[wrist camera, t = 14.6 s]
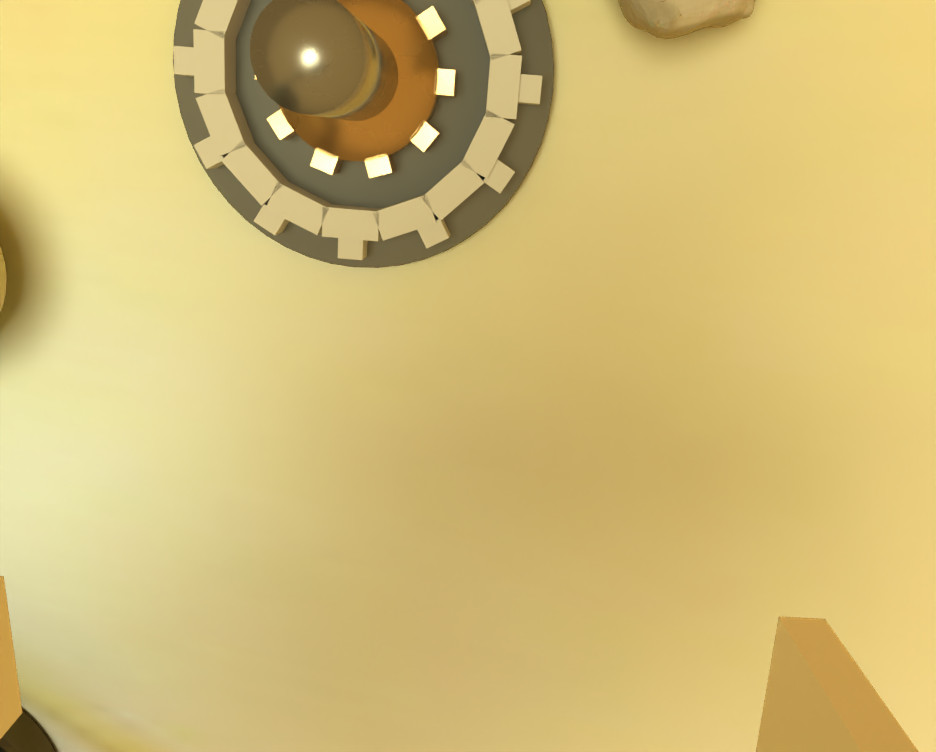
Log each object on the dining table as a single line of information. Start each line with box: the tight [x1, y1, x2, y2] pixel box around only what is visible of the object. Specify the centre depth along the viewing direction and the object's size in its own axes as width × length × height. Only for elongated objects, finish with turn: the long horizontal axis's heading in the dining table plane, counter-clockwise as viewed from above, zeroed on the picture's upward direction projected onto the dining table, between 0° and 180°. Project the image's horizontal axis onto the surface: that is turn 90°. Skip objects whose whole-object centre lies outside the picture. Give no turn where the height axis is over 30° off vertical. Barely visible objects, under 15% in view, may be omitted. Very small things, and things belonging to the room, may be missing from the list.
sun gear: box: [250, 0, 457, 178], centre depth 32 cm, size 9×9×10 cm
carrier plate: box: [173, 0, 554, 268], centre depth 37 cm, size 18×18×2 cm
